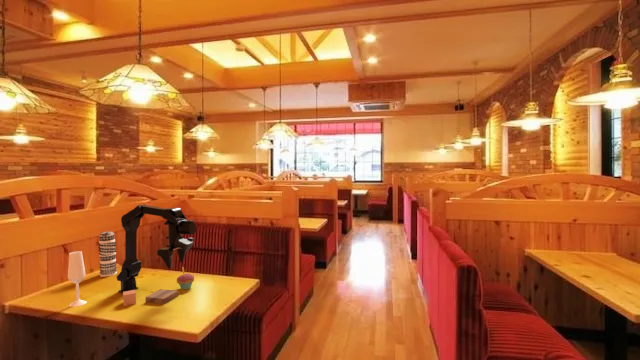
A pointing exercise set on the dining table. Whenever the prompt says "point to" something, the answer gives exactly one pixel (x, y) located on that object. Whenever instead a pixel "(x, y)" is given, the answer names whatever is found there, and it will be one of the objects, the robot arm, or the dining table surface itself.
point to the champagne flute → (76, 274)
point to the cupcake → (185, 280)
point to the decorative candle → (107, 254)
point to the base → (162, 296)
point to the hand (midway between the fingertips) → (175, 265)
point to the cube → (129, 297)
